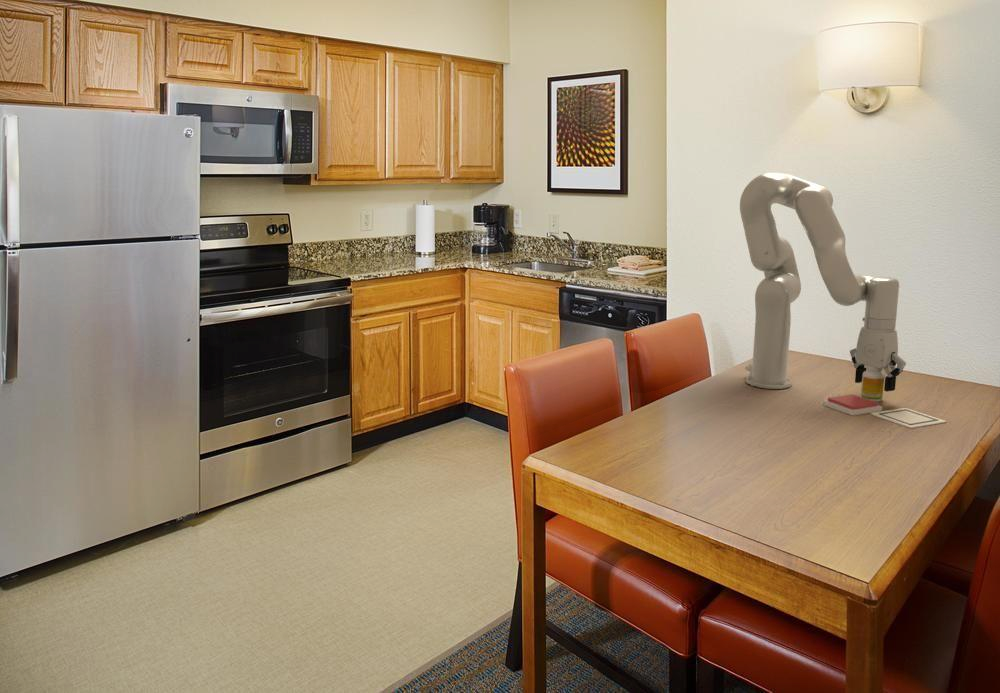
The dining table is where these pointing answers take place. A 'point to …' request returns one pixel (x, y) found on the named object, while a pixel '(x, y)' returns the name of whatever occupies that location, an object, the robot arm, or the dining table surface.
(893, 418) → the marked sheet
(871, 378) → the supplement bottle
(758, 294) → the robot arm
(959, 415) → the dining table surface
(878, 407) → the ink pad
